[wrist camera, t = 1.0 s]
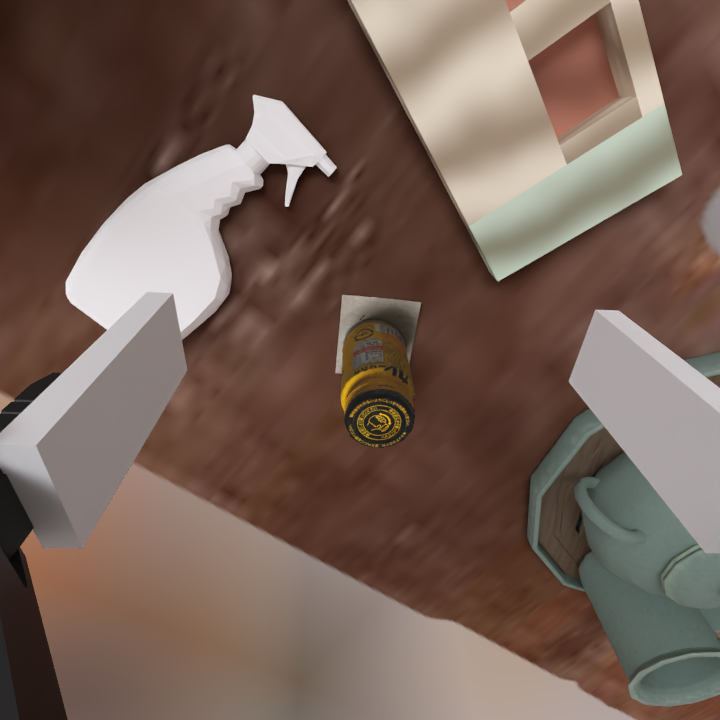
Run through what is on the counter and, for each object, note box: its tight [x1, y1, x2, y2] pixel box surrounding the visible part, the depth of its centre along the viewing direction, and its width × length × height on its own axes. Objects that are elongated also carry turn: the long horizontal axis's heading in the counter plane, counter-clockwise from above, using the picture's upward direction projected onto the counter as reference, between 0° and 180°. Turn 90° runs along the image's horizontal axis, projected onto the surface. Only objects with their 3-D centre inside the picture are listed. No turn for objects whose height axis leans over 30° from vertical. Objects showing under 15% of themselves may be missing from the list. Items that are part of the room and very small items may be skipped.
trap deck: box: [347, 0, 682, 281], centre depth 28 cm, size 30×15×2 cm, turn 34°
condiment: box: [335, 295, 421, 448], centre depth 36 cm, size 7×8×12 cm
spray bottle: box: [66, 95, 337, 340], centre depth 35 cm, size 3×11×24 cm
